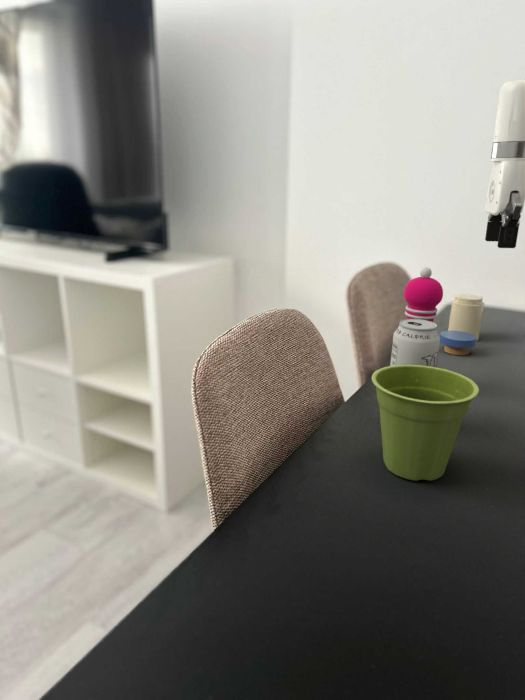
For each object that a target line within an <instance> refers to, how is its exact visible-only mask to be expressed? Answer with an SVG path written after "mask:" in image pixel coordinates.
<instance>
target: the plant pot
mask: <svg viewBox="0 0 525 700" xmlns="http://www.w3.org/2000/svg"><path fill="white" fill-rule="evenodd" d="M371 381H372V384H373V385H374V387H375V389H376V390H375V391H376V400H377V402H378V407H379V419H380V431H381V433H380V434H381V442H382V443H381V445H382V446H381V447H382V458H383V463H384V465H385V467H386V469H387V470H388V471H389V472H391V473H392V474H394V475H395V476H397V477H400V478H403V479H405V480H409V481H420V480H426V481H428V482H429V481H430V482H431V481H435V480H438V479H439V478H441V477H442V476H443V475H444V474H445V471H446V469H447V466H448V463H449V460H450V457H451V454H452V451H453V448H454V445H455V442H456V439H457V437H458V434H459V431H460V428H461V425H462V422H463V419H464V416H466V414H467V413H468V411H469V408H470V406H471V402H472V400H473V399H476V397H477V396H478V395H479V392H480V389H479V385H477V384H476V382H475V381H474V380H472V379H471V378H469V377H468V376H465V375H463V374H461V373H458V372H456V371H453V370H449V369H445V368H441V367H430V366H423V365H394V366H390V365H389V366H384V367H381V368H379V369H377V370H375V371H374V372H373V373H372V375H371Z"/></svg>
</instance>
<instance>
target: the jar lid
mask: <svg viewBox="0 0 525 700" xmlns="http://www.w3.org/2000/svg"><path fill="white" fill-rule="evenodd" d="M439 337H440V344H442V345H444V346H445V345H447V346H451V347H457V348H470V349H471V348H474V347H475V346H476V342H477V341H476V336H474V335H473V334H470V333H467V332H462V331H448V330H444V331H441V332H440V334H439Z"/></svg>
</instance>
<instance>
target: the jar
mask: <svg viewBox="0 0 525 700" xmlns="http://www.w3.org/2000/svg"><path fill="white" fill-rule="evenodd" d="M483 300H484V297H483V296H481V295H477V294H473V293H457V294H455V295H454V299H452V300H451V307H450V313H449V320H448V327H447V331H462V332H467V333H470V334H473V335H474V336H476V342H477V341H479V339H480V334H481V327H482V323H483V315H484V310H485V302H483Z"/></svg>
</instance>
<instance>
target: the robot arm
mask: <svg viewBox="0 0 525 700" xmlns="http://www.w3.org/2000/svg"><path fill="white" fill-rule="evenodd" d="M493 131H494V132H493V137H492V146H491V153H490V162H493V164H492V167H491V171H490V176H489V179H488V186H487V192H486V198H485V204H484V211H485V212H486V213H487V214H488V217H487V223H486V231H485V232H486V233H485V238H484V240H485V241H486V242H497V248H498V249H515V248H516V247H517V241H518V234H519V228H520V225H521V224H520V223H521V221H520V220H521V217H522V212H523V210H524V205H525V78H521V79H520V78H519V79H513V80H509V81H507V82H504V84H502V85H501V87H500V89H499V93H498V101H497V108H496V116H495V124H494V130H493Z"/></svg>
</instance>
